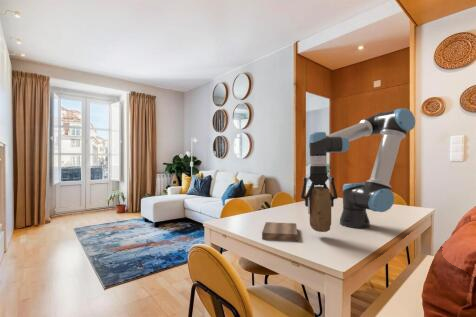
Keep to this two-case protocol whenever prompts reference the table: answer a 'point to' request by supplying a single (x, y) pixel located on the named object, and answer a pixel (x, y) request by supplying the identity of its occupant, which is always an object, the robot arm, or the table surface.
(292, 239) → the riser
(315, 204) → the block
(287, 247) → the table surface
